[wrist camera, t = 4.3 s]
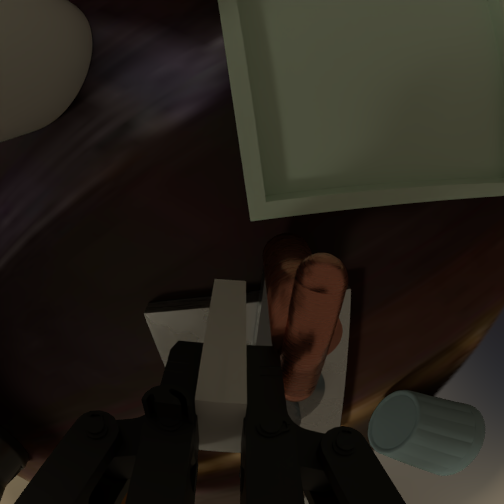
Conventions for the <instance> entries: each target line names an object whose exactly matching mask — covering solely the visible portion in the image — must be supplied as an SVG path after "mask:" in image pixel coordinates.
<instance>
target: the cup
mask: <svg viewBox="0 0 504 504" xmlns="http://www.w3.org/2000/svg"><path fill="white" fill-rule="evenodd" d="M484 437H485V423H484V419H483V416H482V415H481V413H480V412H479V411H478V410H477V409H476V408H475V407H473V406H471V405H468V404H464V403H459V402H454V401H450V400H446V399H442V398H437V397H433V396H429V395H426V394H422V393H418V392H414V391H410V390H398V391H395V392H393V393H391V394H389V395H388V396H386V397H385V398H384V399H383V400H382V401H381V402H380V403H379V405H378V406H377V407H376V409H375V410H374V412H373V414H372V417H371V419H370V422H369V427H368V438H369V442H370V444H371V446H372V447H373V448H374V450H376V451H377V452H378V453H380V454H383V455H385V456H388V457H390V458H393V459H395V460H398V461H400V462H403V463H406V464H409V465H411V466H414V467H417V468H419V469H422V470H425V471H428V472H431V473H434V474H437V475H442V476H445V475H452V474H455V473H457V472H459V471H461V470H463V469H464V468H466V467H467V466H468V465H469V464H470V463H471V462H472V461H473V460H474V459H475V457H476V456H477V454H478V453H479V451H480V449H481V447H482V444H483V441H484Z"/></svg>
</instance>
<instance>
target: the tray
mask: <svg viewBox="0 0 504 504" xmlns="http://www.w3.org/2000/svg"><path fill="white" fill-rule="evenodd" d="M218 5H219V12H220V19H221V25H222V32H223V39H224V45H225V52H226V59H227V65H228V72H229V79H230V85H231V92H232V99H233V106H234V112H235V119H236V126H237V133H238V140H239V146H240V153H241V160H242V167H243V174H244V180H245V187H246V194H247V201H248V208H249V215H250V221H257V220H265V219H273V218H280V217H288V216H297V215H305V214H313V213H322V212H330V211H339V210H348V209H358V208H367V207H377V206H386V205H397V204H407V203H418V202H429V201H440V200H452V199H465V198H478V197H492V196H504V0H218Z"/></svg>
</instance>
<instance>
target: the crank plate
mask: <svg viewBox="0 0 504 504" xmlns="http://www.w3.org/2000/svg"><path fill="white" fill-rule="evenodd" d="M259 296H260V290H259V291H251V292H246V345H253V341H254V334H255V327H256V319H257V311H258V304H259ZM211 297H212V296H207V297H198V298H189V299H179V300H169V301H158V302H149V303H148V306H147V308H146V310H145V312H144V315H145V318H146V321H147V323H148V326H149V328H150V331H151V333H152V336H153V339H154V341H155V344H156V346H157V348H158V351H159V353H160V356H161V358H162V360H163V363H164V365H165V367H166V363H167V360H168V356H169V352H170V349H171V348H172V347H173V346H174V345H175V344H176V343H177V342H178V341H189V342H201V343H204V338H205V332H206V326H207V320H208V314H209V308H210V302H211ZM350 304H351V288H350V286H349V284H348V286H347V290H346V294H345V297H344V301H343V304H342V308H341V311H340V315H339V319H340V322H341V324H342V329H343V333H342V338H341V340H340V342H339V344H338V346H337V347H336V348H335V349H334V350H333V351H332V352H331V353H330V354H328V355H327V357H326V360H325V363H324V366H323V369H322V371H321V374H320V377H319V380H318V383H317V386H316V388H315V390H314V392H313V393H312V395H311V396H310V397H308V398H307V399H305V400H303V401H300V402H299V407H300V413H301V424H300V427H302V428H305V429H308V430H311V431H316V432H320V433H326V432H327V431H328V430H330V429H332V428H334V427H340V423H341V415H342V407H343V398H344V389H345V379H346V368H347V356H348V342H349V326H350ZM206 451H208V450H206Z"/></svg>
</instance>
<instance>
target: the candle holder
mask: <svg viewBox="0 0 504 504" xmlns="http://www.w3.org/2000/svg"><path fill="white" fill-rule="evenodd" d="M91 56H92V33H91V28H90V25H89V22H88V20H87V18H86V16H85V15H84V14H83V12H82V11H81V10H80V9H79V8H78V7H77V6H75V5H74V4H73V3H71V2H70V1H69V0H0V143H1V142H4V141H7V140H10V139H13V138H16V137H19V136H22V135H25V134H28V133H31V132H34V131H37V130H39V129H41V128H44V127H45V126H47V125H49V124H50V123H52V122H53V121H55V120H56V119H57V118H58V117H59V116H61V115H62V114H63V113H64V112H65V110H66V109H67V108H68V107H69V106H70V104H71V103H72V102H73V100H74V99H75V97H76V96H77V94H78V92H79V91H80V89H81V87H82V85H83V83H84V80H85V78H86V75H87V72H88V69H89V66H90V61H91Z"/></svg>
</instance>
